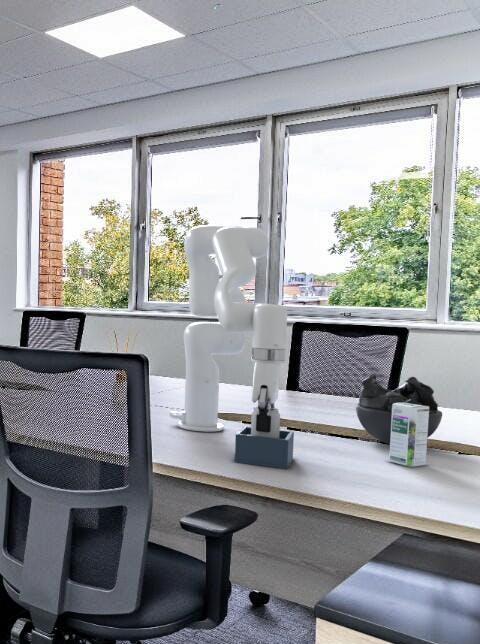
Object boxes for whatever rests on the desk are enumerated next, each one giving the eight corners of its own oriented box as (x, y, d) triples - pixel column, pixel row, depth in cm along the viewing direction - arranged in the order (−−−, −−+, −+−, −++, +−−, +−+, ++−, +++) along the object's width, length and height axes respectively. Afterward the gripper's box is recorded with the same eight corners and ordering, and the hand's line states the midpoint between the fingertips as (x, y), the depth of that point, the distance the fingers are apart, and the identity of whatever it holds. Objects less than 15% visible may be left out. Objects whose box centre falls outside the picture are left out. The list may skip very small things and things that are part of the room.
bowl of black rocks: (459, 451, 183) (463, 380, 182) (399, 455, 177) (403, 381, 176) (392, 435, 202) (396, 371, 201) (337, 438, 196) (340, 372, 195)
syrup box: (387, 461, 170) (390, 403, 169) (404, 459, 173) (407, 401, 172) (410, 467, 165) (413, 406, 164) (427, 465, 167) (430, 405, 167)
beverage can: (281, 461, 166) (283, 411, 165) (252, 459, 167) (254, 409, 166) (275, 455, 172) (277, 406, 171) (247, 453, 173) (249, 405, 173)
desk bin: (234, 462, 168) (235, 434, 167) (242, 452, 177) (243, 426, 177) (287, 469, 162) (288, 440, 161) (292, 458, 172) (293, 431, 171)
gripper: (257, 352, 177) (254, 421, 178) (245, 357, 163) (242, 433, 164) (289, 354, 174) (286, 425, 175) (280, 359, 159) (277, 437, 160)
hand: (265, 428), depth 169 cm, fingers closed on beverage can, 6 cm apart
